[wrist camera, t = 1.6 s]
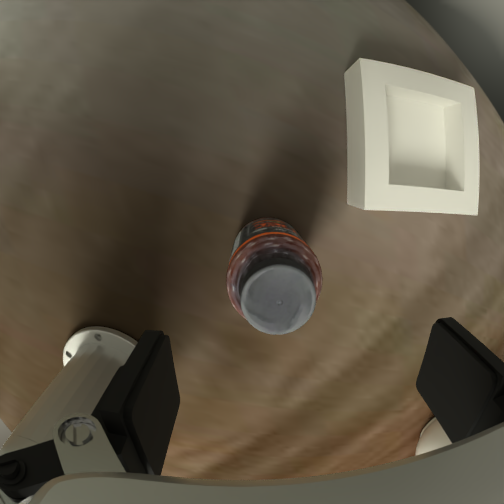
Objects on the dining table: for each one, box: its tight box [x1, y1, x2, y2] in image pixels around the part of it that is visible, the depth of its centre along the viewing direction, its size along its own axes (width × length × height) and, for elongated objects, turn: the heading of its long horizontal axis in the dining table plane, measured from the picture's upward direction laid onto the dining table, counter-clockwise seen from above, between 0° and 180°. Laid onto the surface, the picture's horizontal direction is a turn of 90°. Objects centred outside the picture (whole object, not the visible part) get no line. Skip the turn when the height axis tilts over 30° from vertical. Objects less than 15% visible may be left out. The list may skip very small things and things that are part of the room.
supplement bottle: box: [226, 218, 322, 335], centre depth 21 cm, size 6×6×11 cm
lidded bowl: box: [416, 417, 452, 455], centre depth 28 cm, size 13×13×11 cm
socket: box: [344, 58, 479, 215], centre depth 22 cm, size 12×12×4 cm
